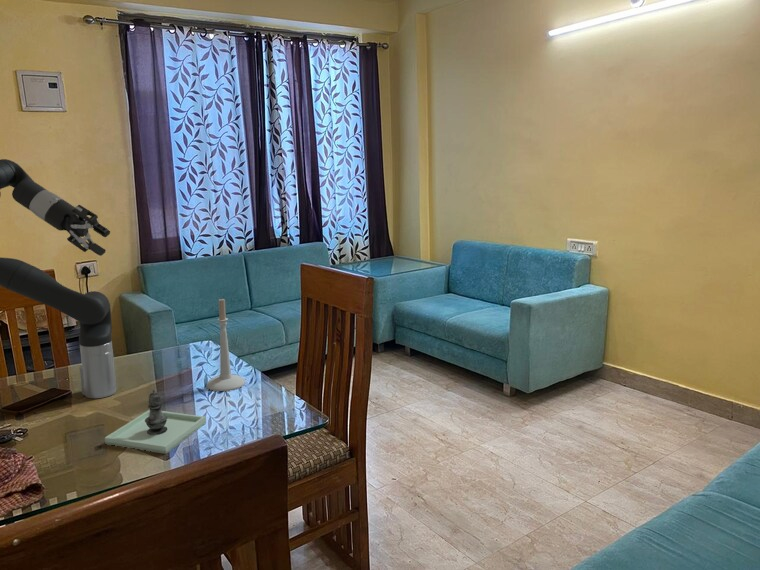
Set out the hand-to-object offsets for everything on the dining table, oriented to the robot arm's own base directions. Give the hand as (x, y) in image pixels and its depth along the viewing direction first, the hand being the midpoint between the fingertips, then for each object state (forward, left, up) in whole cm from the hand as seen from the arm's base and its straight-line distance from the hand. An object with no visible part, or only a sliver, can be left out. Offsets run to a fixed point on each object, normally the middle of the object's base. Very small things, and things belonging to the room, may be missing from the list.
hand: (105, 244), depth 156 cm
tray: (+16, -5, -51) cm, 54 cm away
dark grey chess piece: (+16, -5, -51) cm, 53 cm away
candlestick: (+15, +32, -52) cm, 63 cm away
